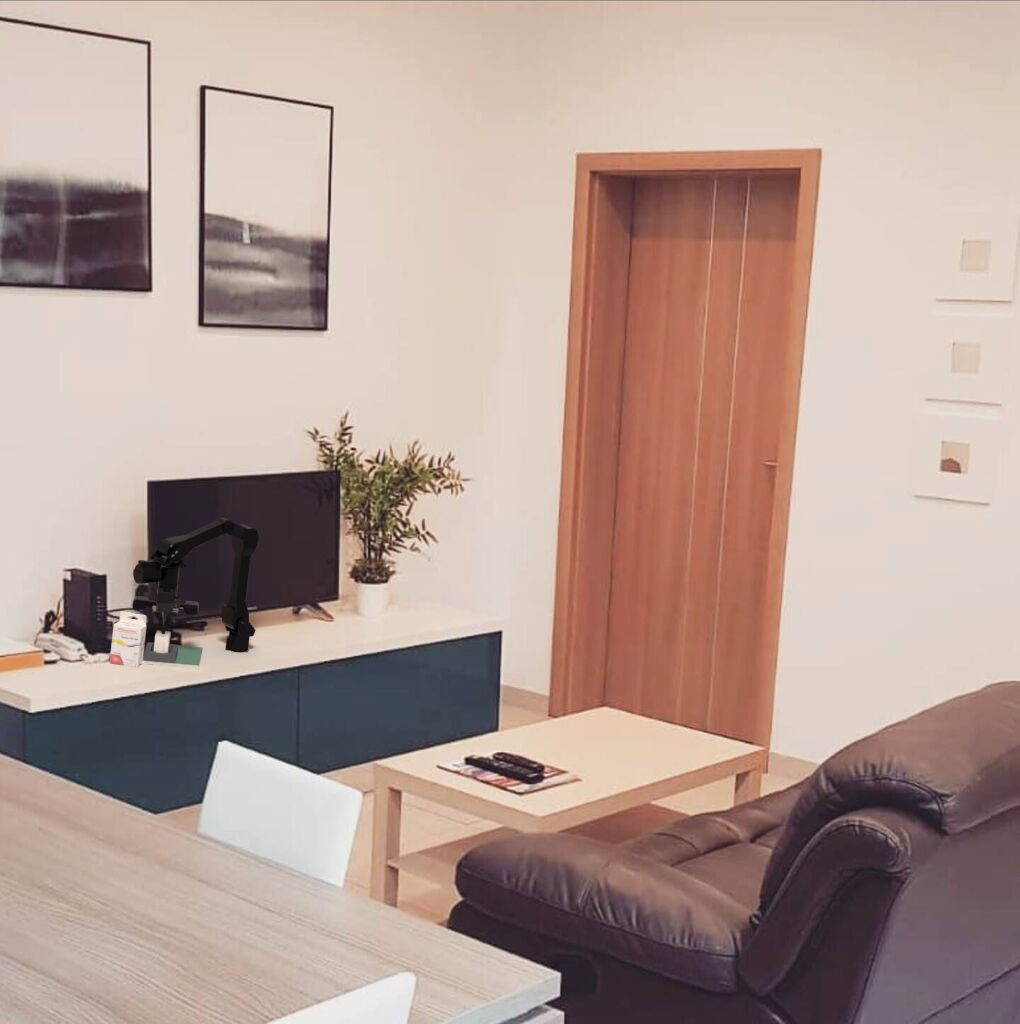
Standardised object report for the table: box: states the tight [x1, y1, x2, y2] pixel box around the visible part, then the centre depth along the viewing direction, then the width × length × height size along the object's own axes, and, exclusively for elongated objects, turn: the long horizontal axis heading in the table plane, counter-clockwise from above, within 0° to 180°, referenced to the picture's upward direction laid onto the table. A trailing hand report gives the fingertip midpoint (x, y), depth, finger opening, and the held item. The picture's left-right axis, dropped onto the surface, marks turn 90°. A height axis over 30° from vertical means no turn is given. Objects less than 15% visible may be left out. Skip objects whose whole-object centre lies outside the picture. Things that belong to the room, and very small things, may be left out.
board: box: [143, 642, 204, 667], centre depth 457 cm, size 16×20×4 cm
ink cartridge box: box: [109, 610, 148, 668], centre depth 443 cm, size 9×5×15 cm, turn 85°
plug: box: [153, 630, 171, 653], centre depth 451 cm, size 4×7×7 cm, turn 8°
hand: (163, 633), depth 451 cm, fingers closed, pressing on plug
